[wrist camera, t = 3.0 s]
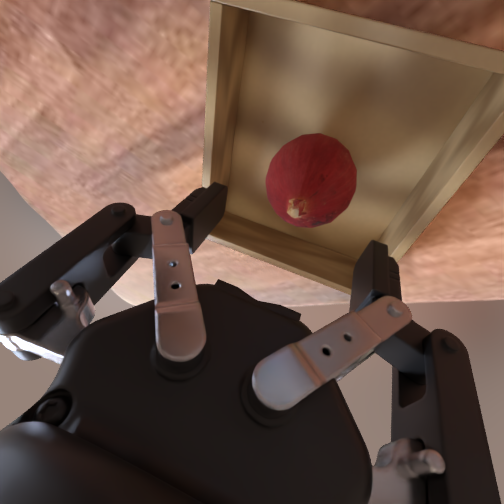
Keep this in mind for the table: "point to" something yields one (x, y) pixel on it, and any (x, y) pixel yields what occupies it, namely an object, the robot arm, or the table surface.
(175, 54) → the table surface
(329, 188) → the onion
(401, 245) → the tray
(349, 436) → the robot arm
